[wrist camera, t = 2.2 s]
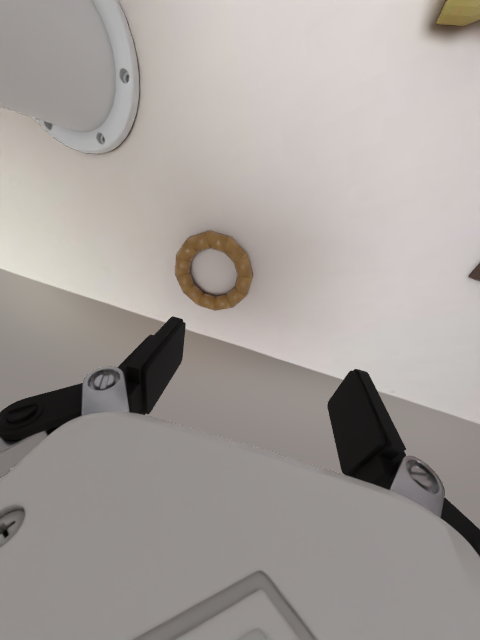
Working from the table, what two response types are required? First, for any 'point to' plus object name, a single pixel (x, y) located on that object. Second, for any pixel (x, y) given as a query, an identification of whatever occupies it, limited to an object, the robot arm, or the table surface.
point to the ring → (231, 250)
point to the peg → (476, 273)
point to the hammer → (459, 12)
